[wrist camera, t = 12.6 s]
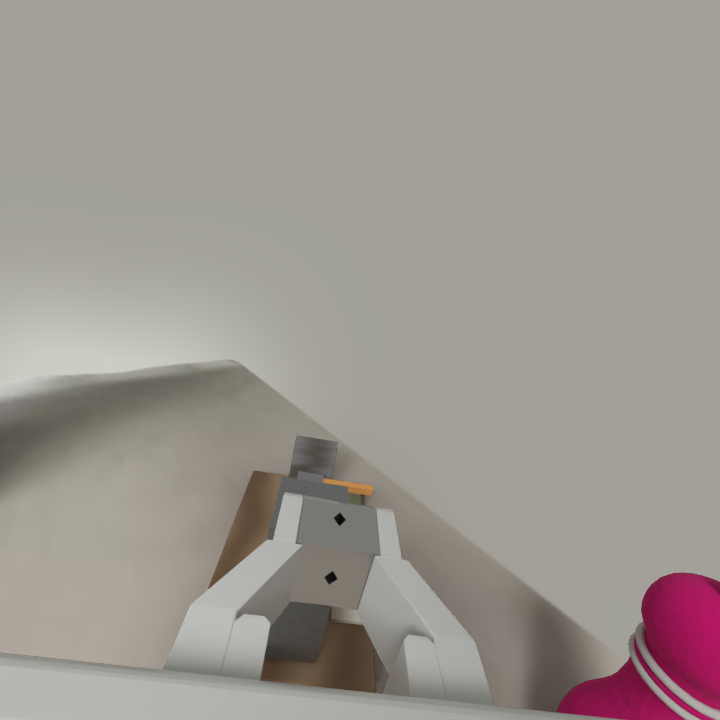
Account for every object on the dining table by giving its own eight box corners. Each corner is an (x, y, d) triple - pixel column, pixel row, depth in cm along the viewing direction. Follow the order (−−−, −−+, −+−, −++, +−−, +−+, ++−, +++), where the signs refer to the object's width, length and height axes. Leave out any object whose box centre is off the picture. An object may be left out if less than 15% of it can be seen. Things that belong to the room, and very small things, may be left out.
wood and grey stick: (293, 495, 43) (296, 479, 42) (295, 487, 44) (298, 470, 44) (369, 507, 44) (373, 490, 43) (368, 498, 45) (372, 482, 45)
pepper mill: (518, 718, 28) (637, 513, 22) (608, 734, 29) (751, 536, 22) (565, 873, 21) (758, 641, 15) (682, 892, 22) (921, 672, 15)
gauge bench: (176, 683, 26) (181, 608, 23) (252, 480, 47) (259, 429, 44) (370, 701, 27) (395, 632, 25) (360, 496, 48) (373, 448, 46)
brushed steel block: (247, 656, 27) (268, 527, 23) (273, 544, 36) (291, 440, 32) (316, 663, 27) (347, 538, 23) (323, 551, 37) (347, 449, 33)
